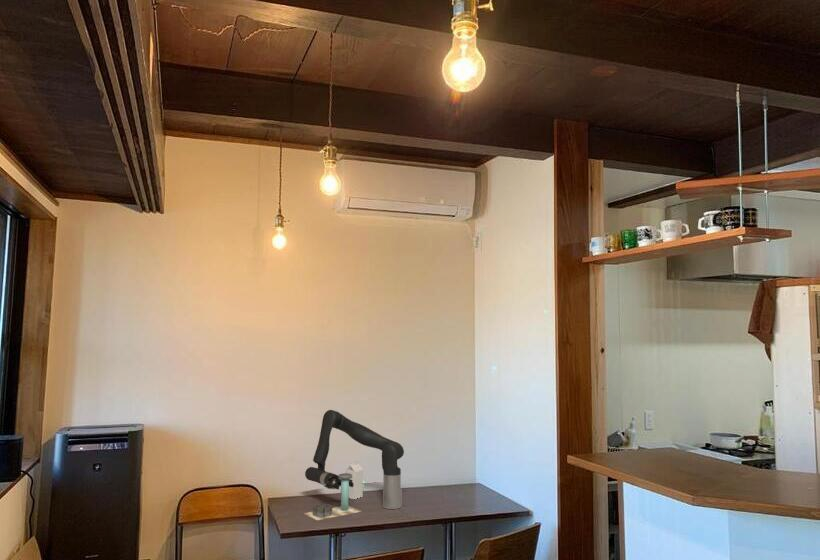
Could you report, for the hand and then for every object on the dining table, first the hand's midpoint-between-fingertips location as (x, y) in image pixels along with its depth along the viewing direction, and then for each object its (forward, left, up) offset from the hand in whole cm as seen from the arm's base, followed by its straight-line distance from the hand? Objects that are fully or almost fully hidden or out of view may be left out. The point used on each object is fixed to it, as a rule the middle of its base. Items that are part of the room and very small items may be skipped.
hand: (345, 486), depth 311 cm
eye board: (+7, 0, -13) cm, 15 cm away
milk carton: (-20, -24, -14) cm, 34 cm away
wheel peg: (0, -1, -12) cm, 12 cm away
